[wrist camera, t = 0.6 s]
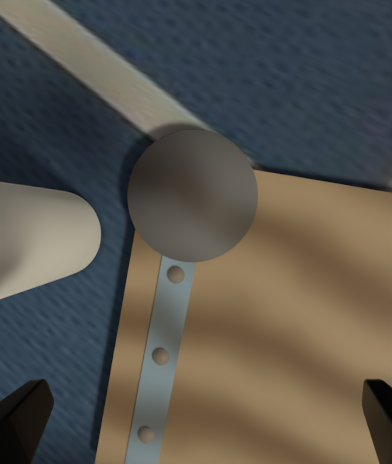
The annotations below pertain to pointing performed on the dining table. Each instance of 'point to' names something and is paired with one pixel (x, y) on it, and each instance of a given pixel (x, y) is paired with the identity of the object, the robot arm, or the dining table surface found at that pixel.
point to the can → (43, 236)
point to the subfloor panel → (247, 313)
